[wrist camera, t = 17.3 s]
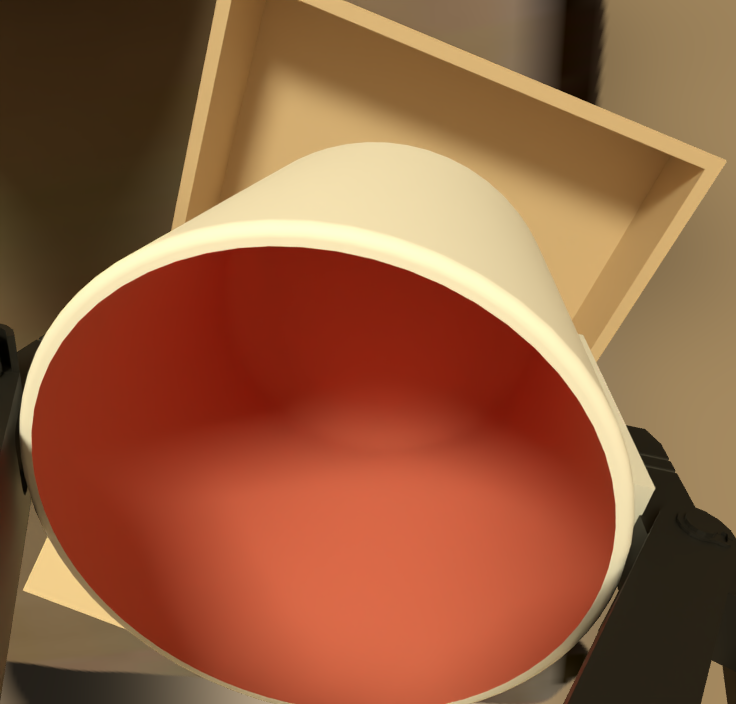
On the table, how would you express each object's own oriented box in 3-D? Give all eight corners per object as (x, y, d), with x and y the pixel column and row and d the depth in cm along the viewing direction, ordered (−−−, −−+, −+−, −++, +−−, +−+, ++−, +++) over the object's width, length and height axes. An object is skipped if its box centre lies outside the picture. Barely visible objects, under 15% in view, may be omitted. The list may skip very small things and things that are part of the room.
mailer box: (197, 266, 35) (158, 295, 30) (264, -29, 27) (226, -49, 23) (532, 400, 35) (543, 447, 31) (686, 147, 28) (729, 161, 24)
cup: (532, 439, 20) (594, 748, 11) (253, 429, 21) (103, 693, 12) (559, 128, 15) (703, 213, 6) (204, 143, 17) (-86, 229, 8)
